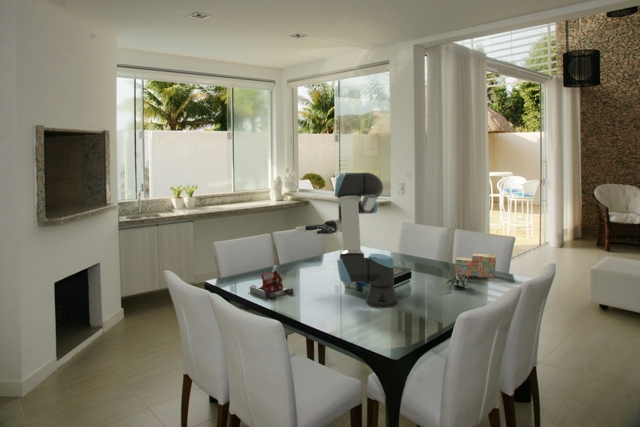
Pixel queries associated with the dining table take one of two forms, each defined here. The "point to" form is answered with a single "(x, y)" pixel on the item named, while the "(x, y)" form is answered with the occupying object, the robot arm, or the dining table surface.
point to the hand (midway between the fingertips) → (303, 231)
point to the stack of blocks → (477, 265)
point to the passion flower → (458, 279)
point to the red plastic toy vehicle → (272, 282)
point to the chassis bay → (266, 294)
